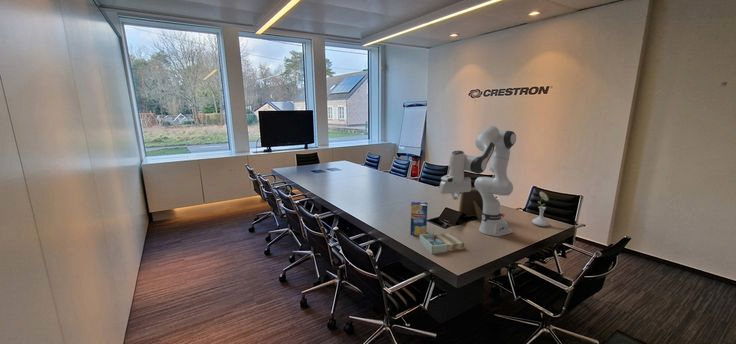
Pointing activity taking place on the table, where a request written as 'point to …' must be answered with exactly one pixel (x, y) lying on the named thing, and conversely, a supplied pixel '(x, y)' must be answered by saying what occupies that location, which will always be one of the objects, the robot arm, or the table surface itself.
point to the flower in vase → (541, 213)
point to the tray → (432, 248)
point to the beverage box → (418, 218)
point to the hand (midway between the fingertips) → (454, 199)
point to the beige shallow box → (450, 241)
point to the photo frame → (471, 203)
